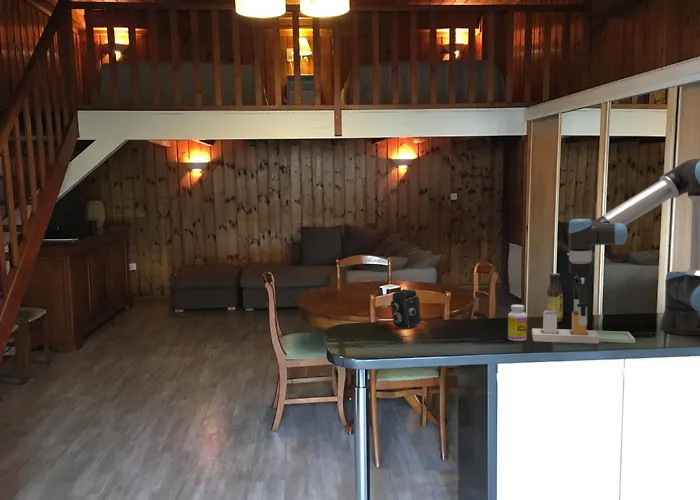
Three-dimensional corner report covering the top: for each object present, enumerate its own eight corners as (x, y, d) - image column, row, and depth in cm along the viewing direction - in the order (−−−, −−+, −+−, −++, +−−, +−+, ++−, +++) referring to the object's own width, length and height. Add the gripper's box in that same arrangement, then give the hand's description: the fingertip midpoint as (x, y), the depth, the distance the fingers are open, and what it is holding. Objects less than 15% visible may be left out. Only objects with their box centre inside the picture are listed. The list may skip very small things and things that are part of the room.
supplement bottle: (516, 343, 219) (516, 308, 218) (504, 339, 225) (504, 305, 223) (530, 340, 222) (531, 306, 221) (517, 337, 228) (518, 303, 226)
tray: (628, 336, 225) (628, 331, 225) (635, 344, 214) (635, 339, 213) (593, 335, 228) (593, 330, 228) (598, 343, 217) (598, 338, 216)
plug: (584, 338, 222) (584, 311, 221) (586, 341, 217) (586, 313, 216) (571, 337, 223) (571, 310, 222) (572, 340, 218) (573, 313, 217)
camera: (385, 327, 249) (384, 291, 247) (404, 323, 256) (404, 287, 255) (404, 331, 241) (403, 294, 239) (423, 327, 248) (423, 290, 246)
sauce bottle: (563, 322, 250) (564, 275, 248) (547, 322, 252) (548, 274, 250) (561, 319, 257) (562, 272, 255) (545, 319, 258) (546, 272, 256)
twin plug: (555, 337, 224) (555, 310, 223) (556, 340, 220) (557, 312, 219) (543, 336, 225) (543, 310, 224) (543, 339, 221) (544, 312, 220)
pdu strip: (594, 338, 223) (594, 330, 223) (598, 345, 214) (598, 336, 213) (531, 336, 229) (532, 328, 228) (533, 342, 219) (533, 334, 219)
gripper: (565, 258, 230) (565, 313, 232) (573, 266, 206) (573, 328, 208) (586, 258, 228) (586, 313, 230) (596, 266, 204) (596, 328, 206)
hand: (580, 320), depth 219 cm, fingers open, 13 cm apart
